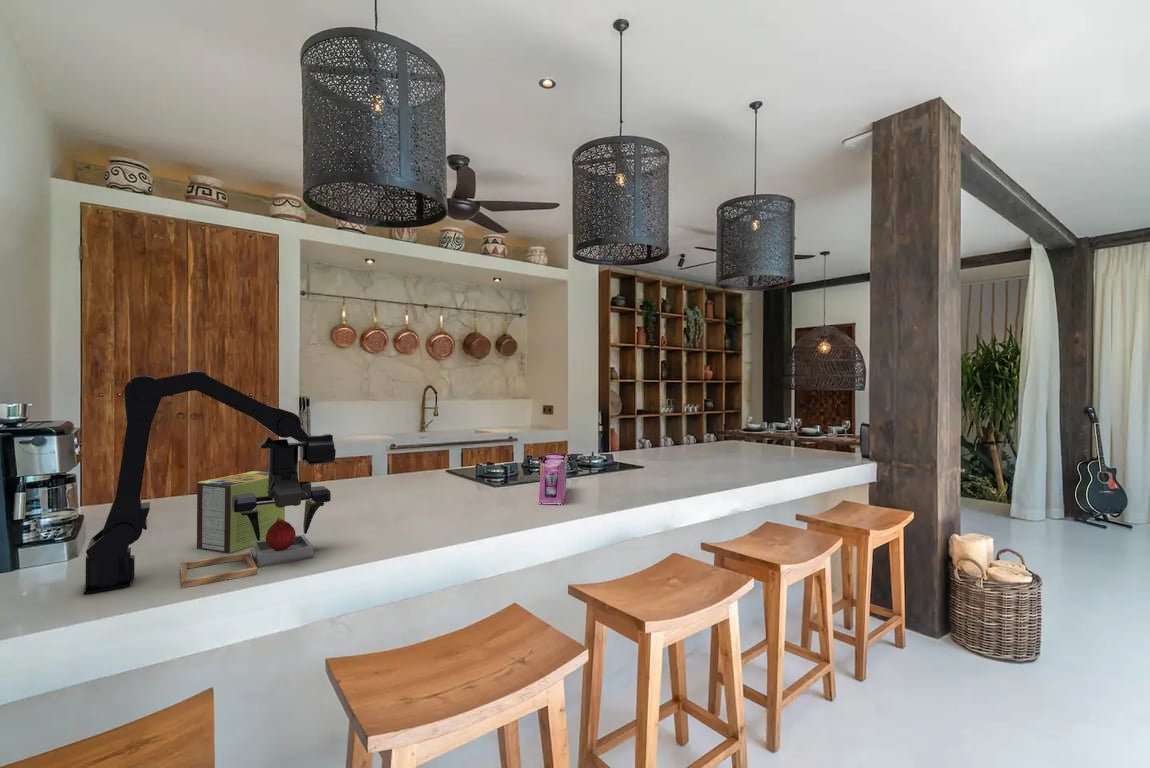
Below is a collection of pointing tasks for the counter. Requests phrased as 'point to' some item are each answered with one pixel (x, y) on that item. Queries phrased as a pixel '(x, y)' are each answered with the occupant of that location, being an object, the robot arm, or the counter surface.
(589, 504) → the counter surface
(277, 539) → the onion
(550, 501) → the gum box
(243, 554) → the brown wooden frame
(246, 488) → the protein box
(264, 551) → the dish
